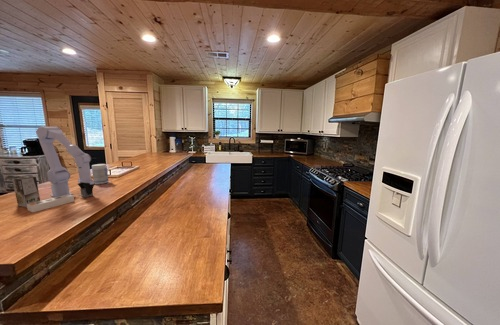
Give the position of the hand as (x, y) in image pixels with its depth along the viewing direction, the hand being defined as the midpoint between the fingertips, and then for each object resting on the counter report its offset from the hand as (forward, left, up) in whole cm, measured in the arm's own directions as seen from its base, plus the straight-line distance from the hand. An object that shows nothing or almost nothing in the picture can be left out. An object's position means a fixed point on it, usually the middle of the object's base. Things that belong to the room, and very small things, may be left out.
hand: (87, 193), depth 131 cm
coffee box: (-13, -23, -2) cm, 27 cm away
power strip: (0, -18, -2) cm, 18 cm away
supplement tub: (-25, +22, -2) cm, 33 cm away
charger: (0, -1, -1) cm, 2 cm away
